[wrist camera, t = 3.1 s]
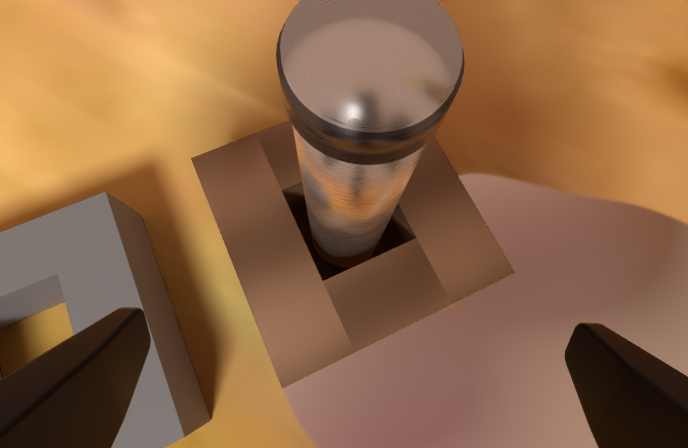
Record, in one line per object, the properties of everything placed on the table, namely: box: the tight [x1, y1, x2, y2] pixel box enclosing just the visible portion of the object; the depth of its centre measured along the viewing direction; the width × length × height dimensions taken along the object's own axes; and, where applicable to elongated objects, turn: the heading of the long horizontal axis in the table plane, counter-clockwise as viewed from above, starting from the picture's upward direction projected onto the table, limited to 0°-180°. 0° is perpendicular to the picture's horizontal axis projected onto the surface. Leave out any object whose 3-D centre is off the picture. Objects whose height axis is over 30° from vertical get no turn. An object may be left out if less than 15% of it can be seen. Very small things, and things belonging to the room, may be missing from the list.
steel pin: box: [276, 0, 464, 267], centre depth 14 cm, size 4×4×14 cm
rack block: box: [0, 192, 211, 448], centre depth 17 cm, size 11×11×4 cm
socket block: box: [191, 120, 514, 388], centre depth 19 cm, size 11×11×4 cm
